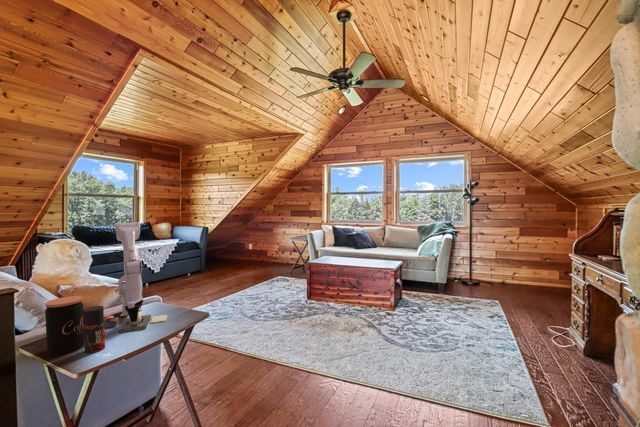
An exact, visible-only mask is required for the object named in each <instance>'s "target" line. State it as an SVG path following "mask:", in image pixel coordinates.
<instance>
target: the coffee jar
mask: <svg viewBox="0 0 640 427" xmlns="http://www.w3.org/2000/svg"><path fill="white" fill-rule="evenodd" d="M83 300H84V297H83V296H81V295H71V296H64V297H59V298H54V299H51V300H48V301H46V302H45V303H44V306H45V307H46V309H45V310H44V314H45V317H44V318H45V335H46V352H47V353H48V354H50V355H51V356H60V355H61V356H62V354H63V355H66V353H67V354H70V352H71V353H74V352H76V351H79V350H80V349H81V348H82V347H83V346H85V345H84V323H83V310H84V309H85V308H84V303H83ZM75 350H76V351H75ZM73 351H74V352H73Z"/></svg>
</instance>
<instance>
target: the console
mask: <svg viewBox="0 0 640 427" xmlns="http://www.w3.org/2000/svg"><path fill="white" fill-rule="evenodd" d="M119 324H120V316H118V317H114V318H113V321H108V322H105V318H104V329H109V328H116V327H117V326H118V325H119Z"/></svg>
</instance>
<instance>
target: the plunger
mask: <svg viewBox="0 0 640 427" xmlns="http://www.w3.org/2000/svg"><path fill="white" fill-rule="evenodd" d="M113 318H115V317H114V315H107V316H104V319H105V322H108V321H113Z"/></svg>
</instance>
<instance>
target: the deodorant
mask: <svg viewBox="0 0 640 427" xmlns="http://www.w3.org/2000/svg"><path fill="white" fill-rule="evenodd" d="M83 309H84V310H83V323H84V345H83V346H84V353H85V354H95V353H99V352H102V351H104V349H106V338H105V336H106V335H105V328H104V319H105V315H104V314H105V310H104V306H103V305H95V306H89V307H87V308H83Z"/></svg>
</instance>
